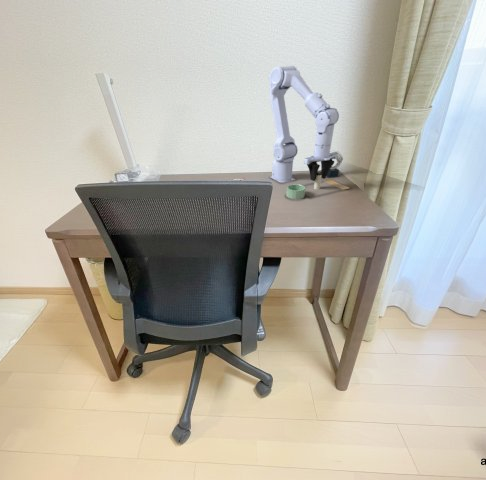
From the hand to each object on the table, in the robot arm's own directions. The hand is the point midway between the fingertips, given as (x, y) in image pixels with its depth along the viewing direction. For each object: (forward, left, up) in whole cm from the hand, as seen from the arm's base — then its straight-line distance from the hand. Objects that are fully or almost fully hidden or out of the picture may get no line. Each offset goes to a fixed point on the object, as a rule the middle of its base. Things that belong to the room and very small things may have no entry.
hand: (318, 179), depth 104 cm
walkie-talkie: (-15, -27, -5) cm, 31 cm away
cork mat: (0, +2, -4) cm, 5 cm away
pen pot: (+2, -12, -4) cm, 13 cm away
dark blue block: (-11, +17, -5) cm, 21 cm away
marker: (0, 0, -4) cm, 4 cm away
